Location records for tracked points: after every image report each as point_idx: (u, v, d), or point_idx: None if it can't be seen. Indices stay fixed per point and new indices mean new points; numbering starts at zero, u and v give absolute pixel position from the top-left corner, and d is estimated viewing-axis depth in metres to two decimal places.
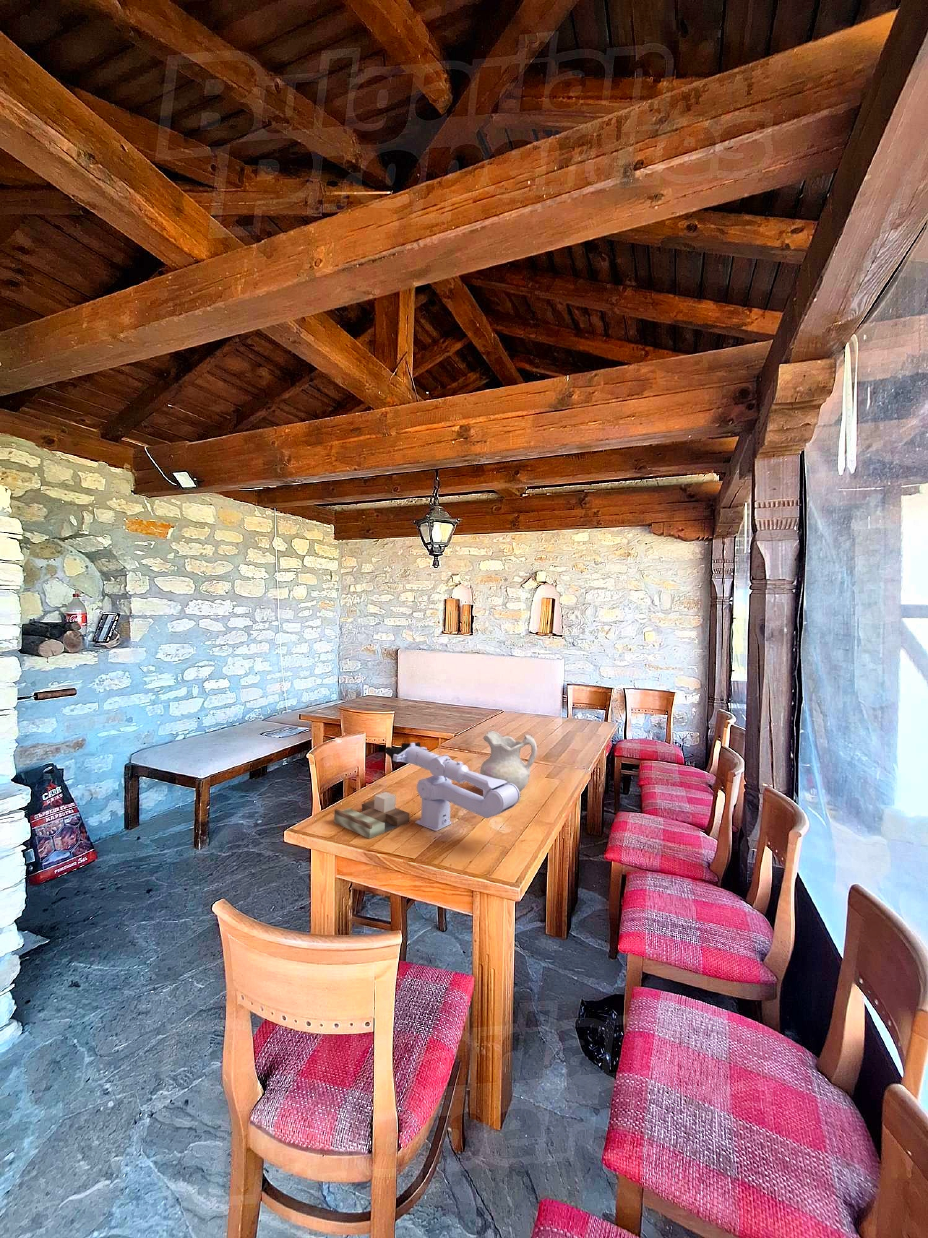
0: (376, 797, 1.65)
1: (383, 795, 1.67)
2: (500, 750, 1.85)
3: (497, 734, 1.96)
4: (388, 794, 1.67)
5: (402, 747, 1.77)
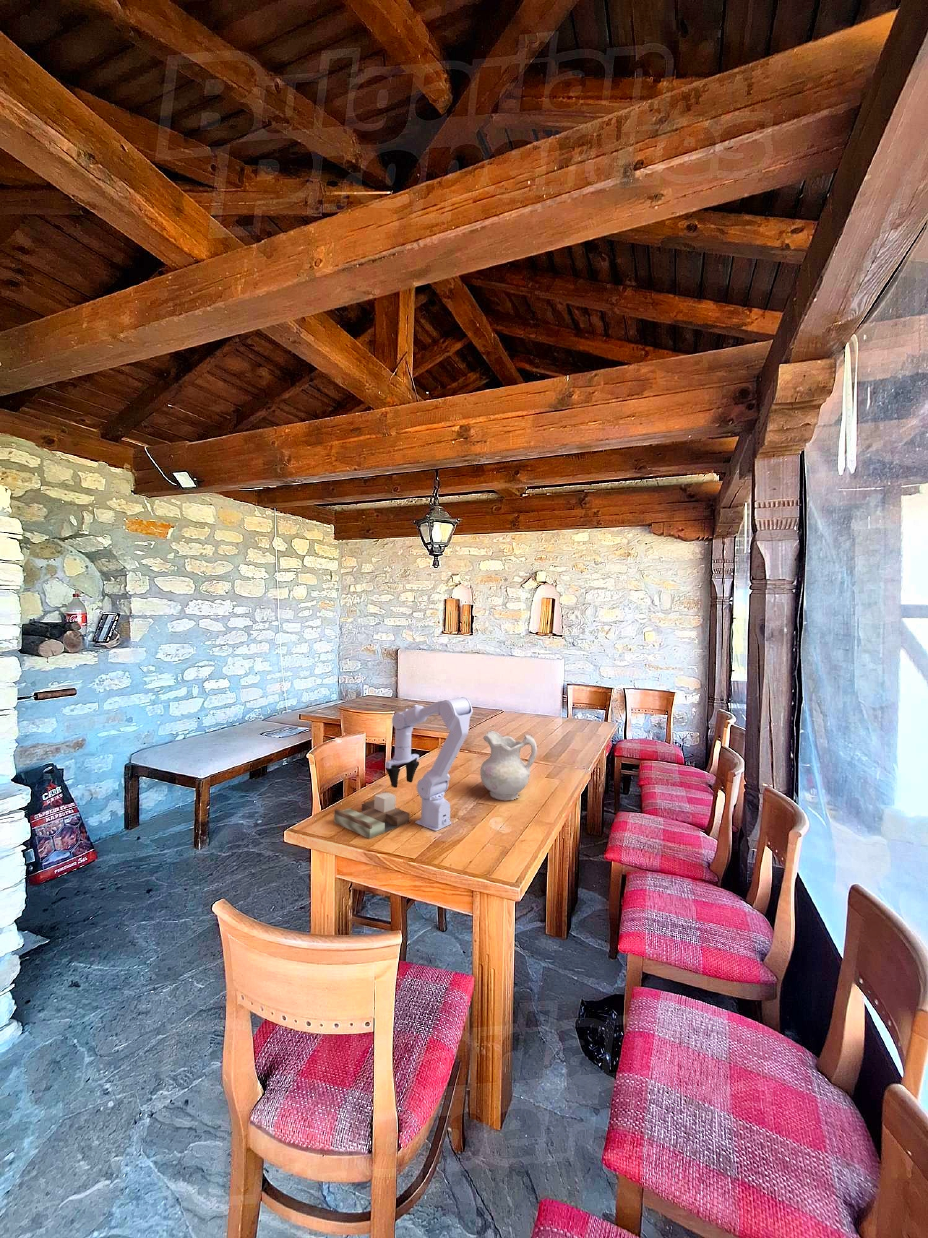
0: (376, 797, 1.65)
1: (383, 795, 1.67)
2: (500, 750, 1.85)
3: (497, 734, 1.96)
4: (388, 794, 1.67)
5: (409, 780, 1.75)
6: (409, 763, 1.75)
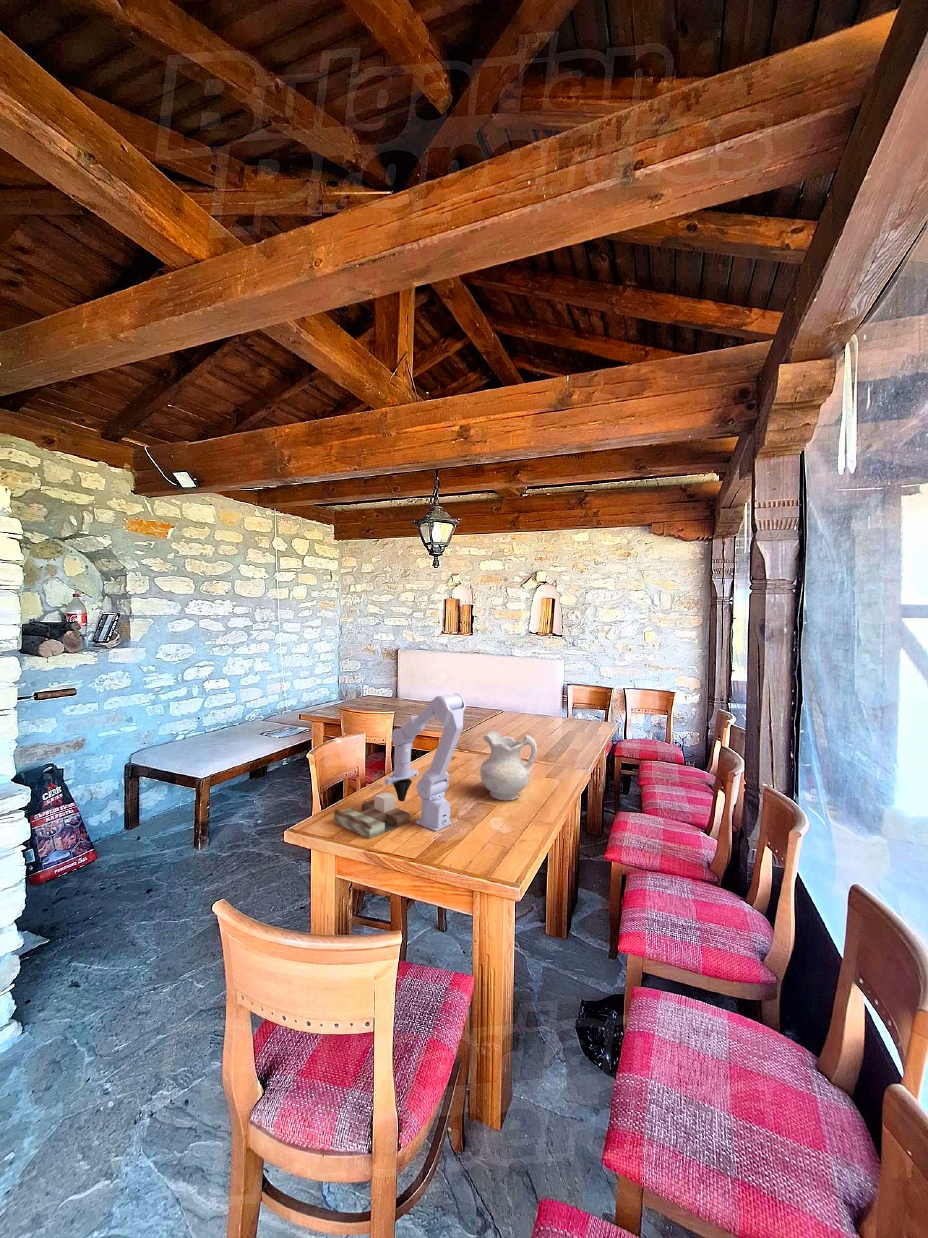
0: (376, 797, 1.65)
1: (383, 795, 1.67)
2: (500, 750, 1.85)
3: (497, 734, 1.96)
4: (388, 794, 1.67)
5: None
6: None
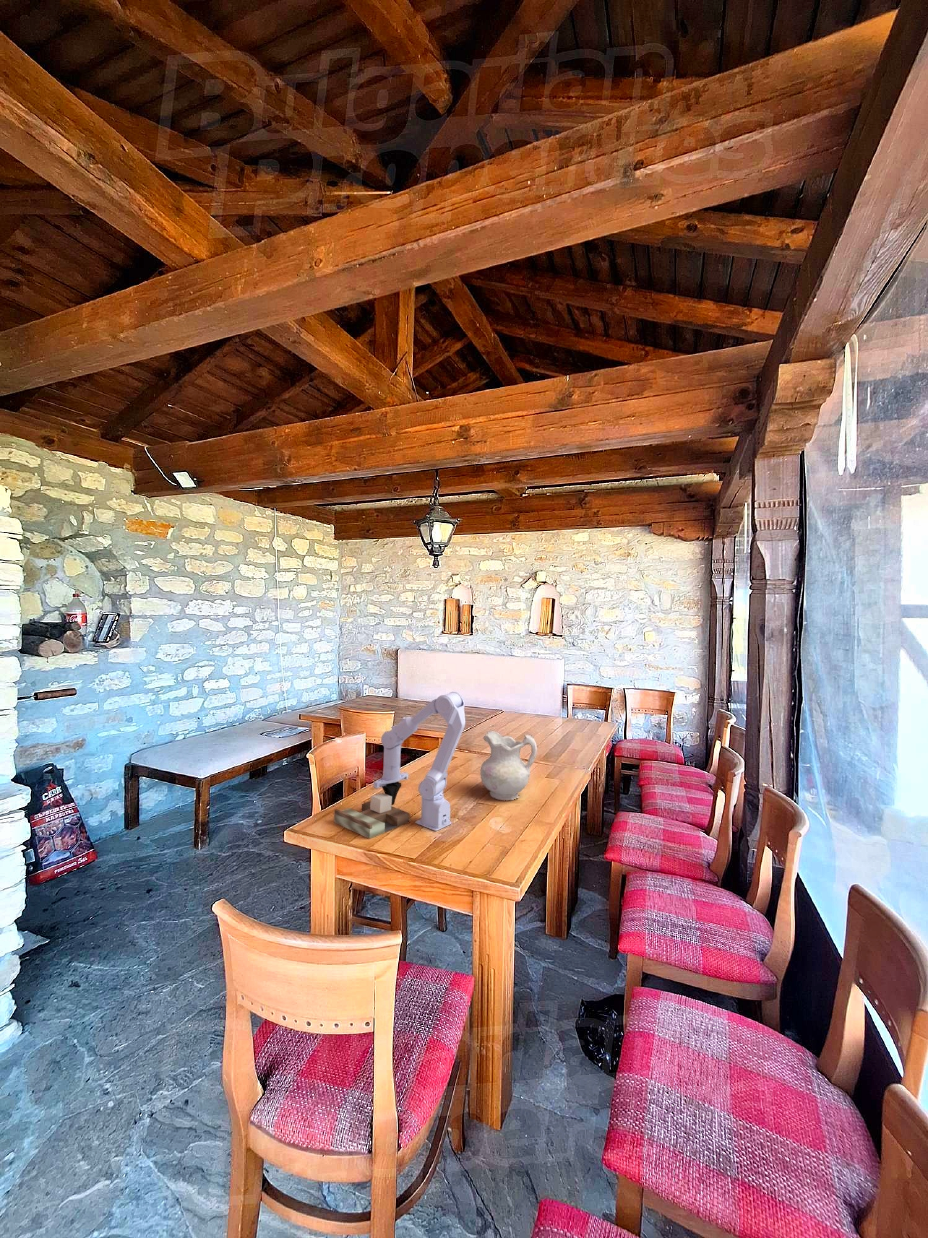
0: (372, 797, 1.64)
1: (380, 795, 1.65)
2: (500, 750, 1.85)
3: (497, 734, 1.96)
4: (384, 795, 1.66)
5: None
6: None
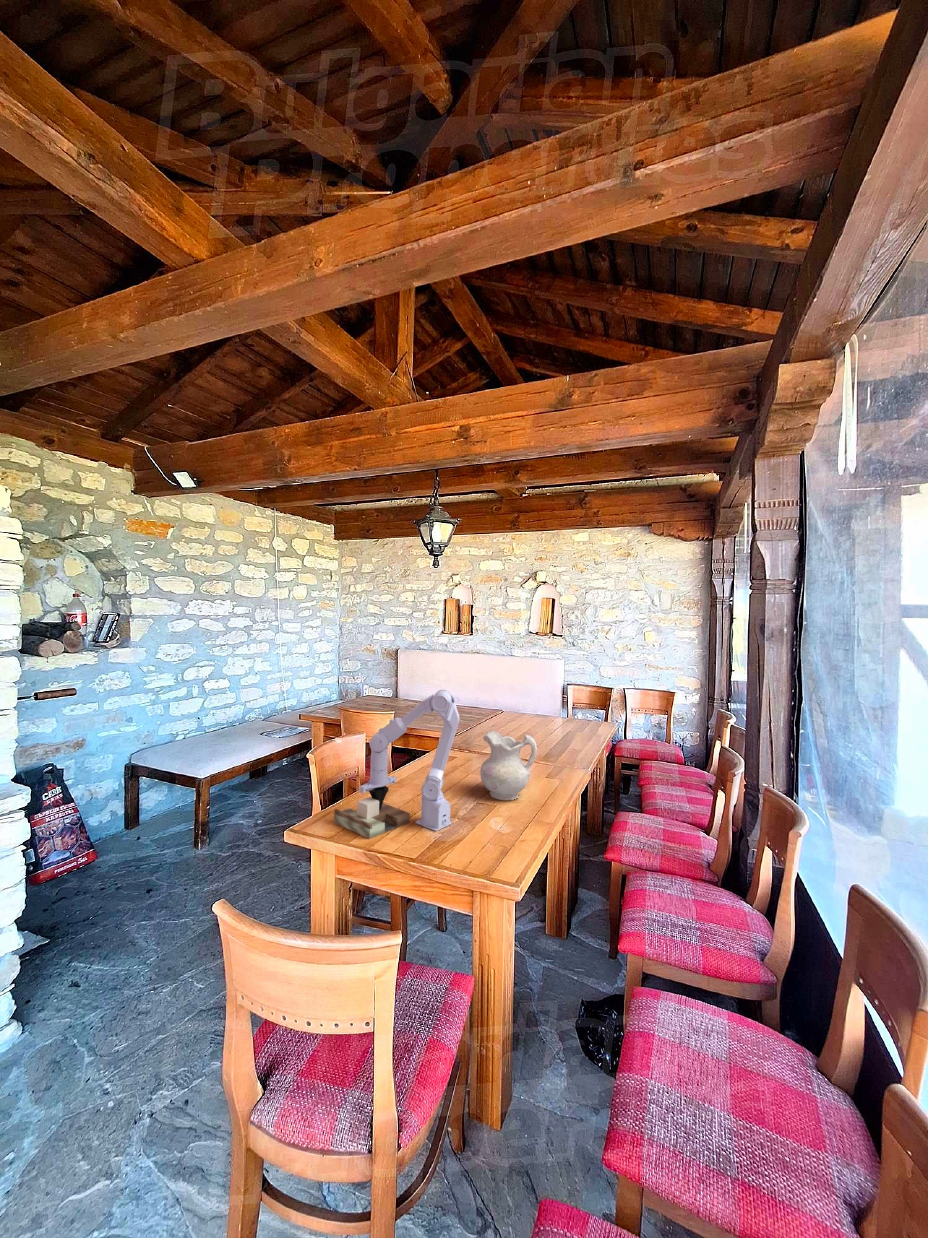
0: (359, 803, 1.60)
1: (367, 800, 1.61)
2: (500, 750, 1.85)
3: (497, 734, 1.96)
4: (371, 799, 1.62)
5: None
6: None
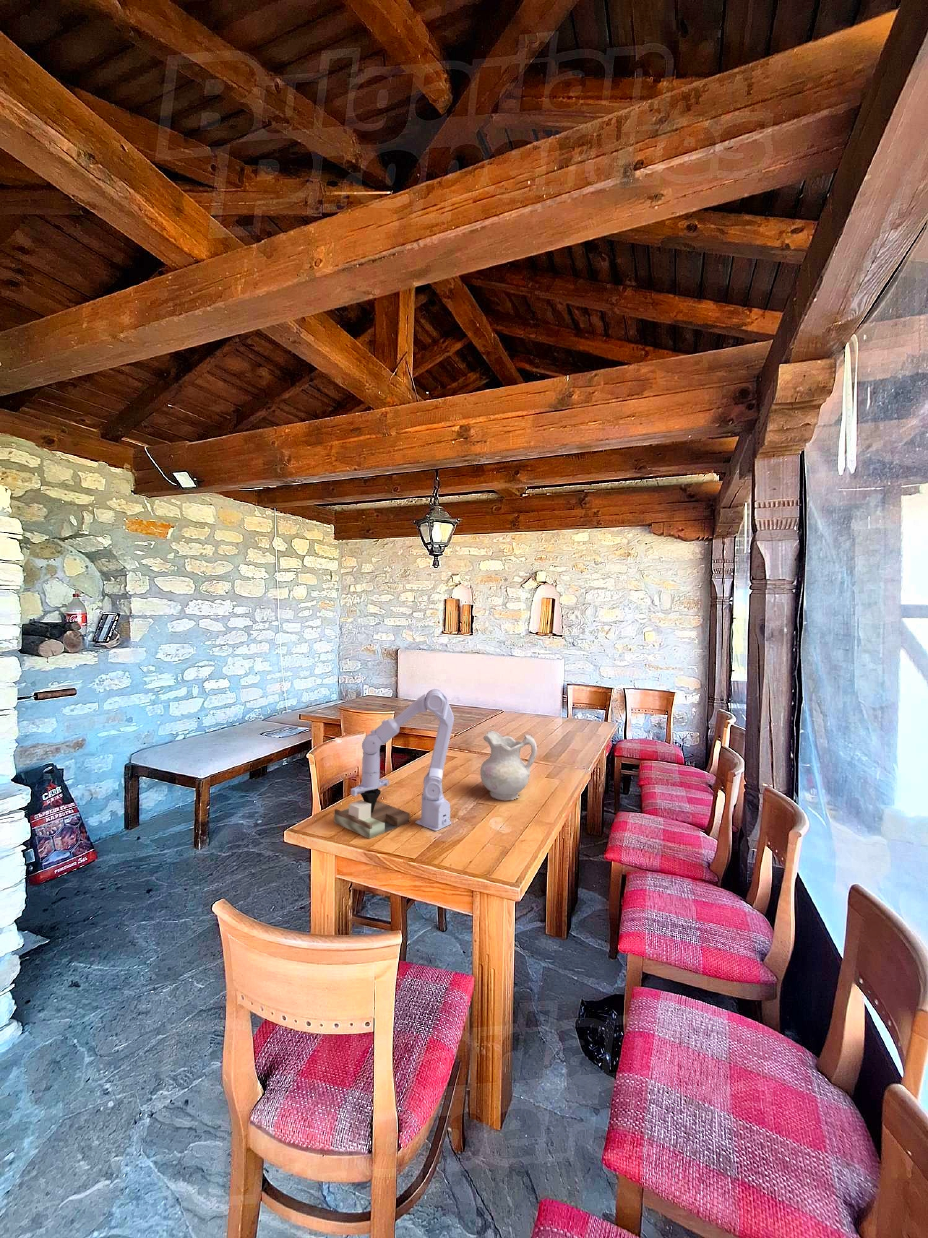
0: (350, 806, 1.57)
1: (358, 803, 1.58)
2: (500, 750, 1.85)
3: (497, 734, 1.96)
4: (363, 802, 1.59)
5: None
6: None
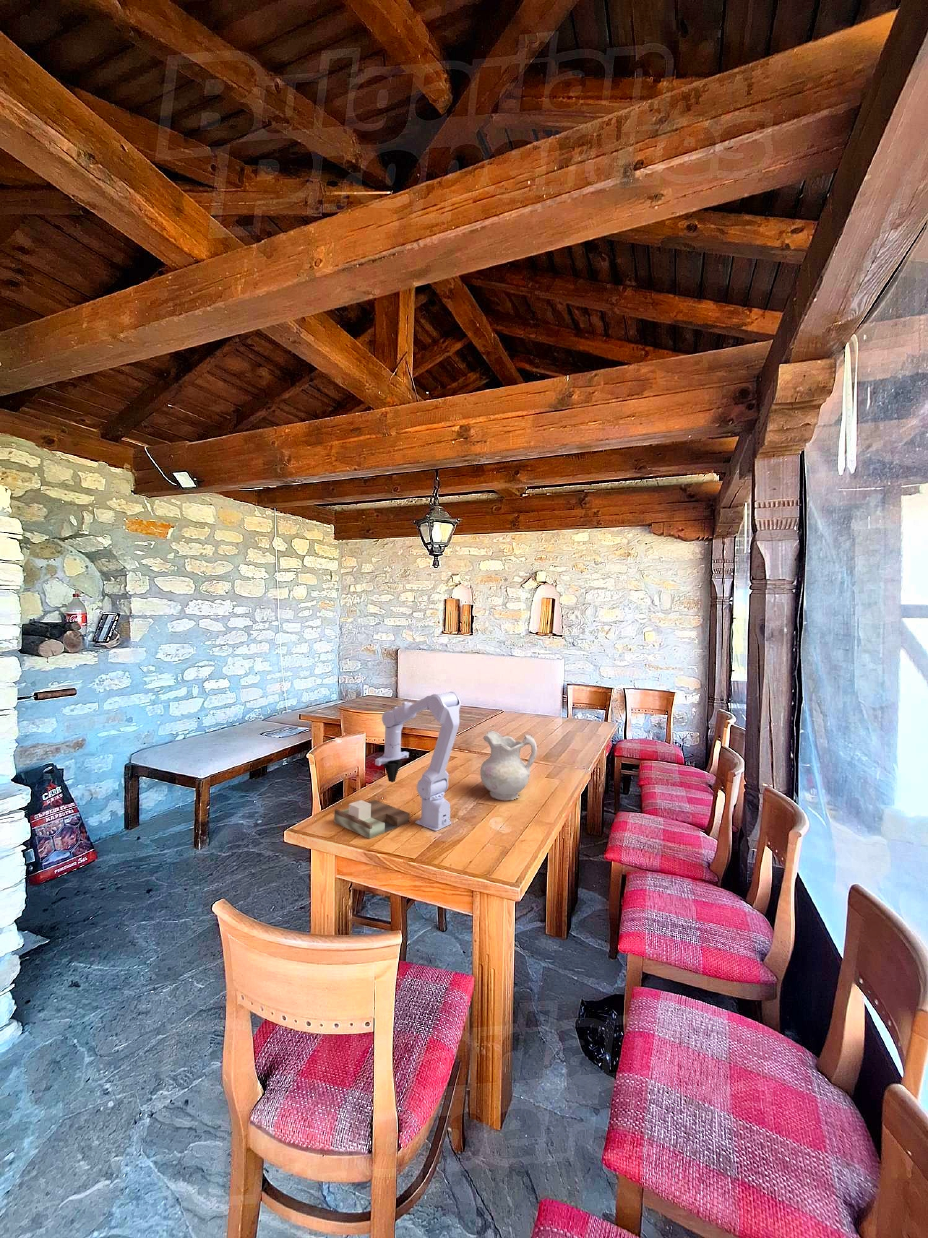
0: (350, 806, 1.57)
1: (358, 803, 1.58)
2: (500, 750, 1.85)
3: (497, 734, 1.96)
4: (363, 802, 1.59)
5: None
6: None
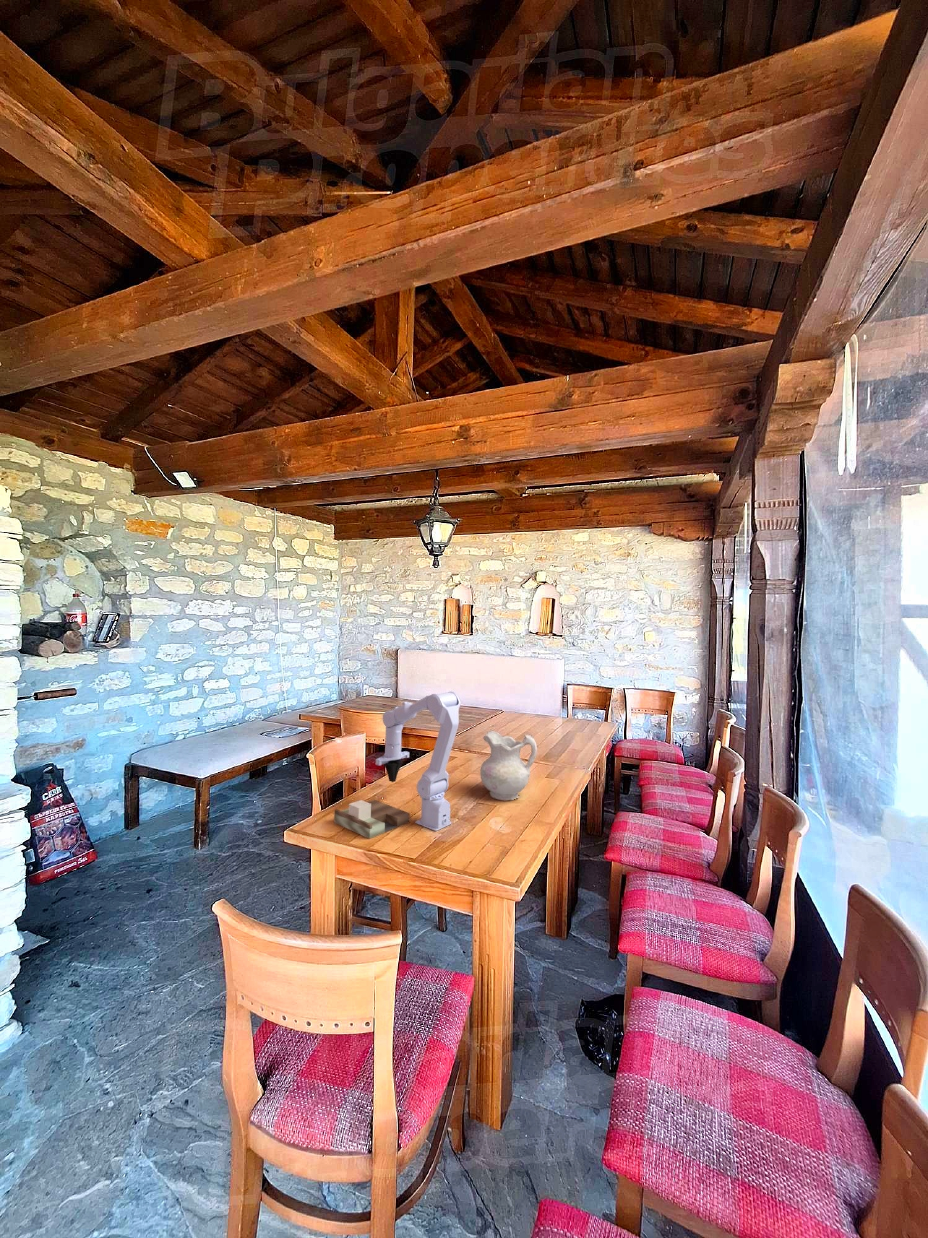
0: (350, 806, 1.57)
1: (358, 803, 1.58)
2: (500, 750, 1.85)
3: (497, 734, 1.96)
4: (363, 802, 1.59)
5: None
6: None
